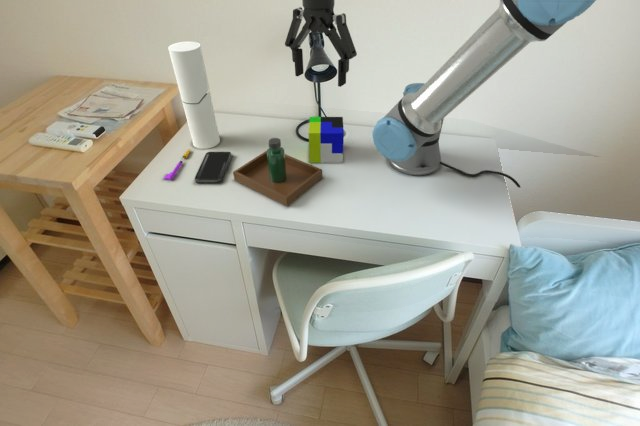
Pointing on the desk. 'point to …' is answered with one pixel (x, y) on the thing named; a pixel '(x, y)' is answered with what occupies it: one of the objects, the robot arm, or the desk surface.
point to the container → (195, 93)
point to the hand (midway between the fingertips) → (320, 79)
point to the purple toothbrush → (172, 174)
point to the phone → (213, 168)
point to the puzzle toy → (326, 139)
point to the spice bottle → (276, 161)
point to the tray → (285, 192)
